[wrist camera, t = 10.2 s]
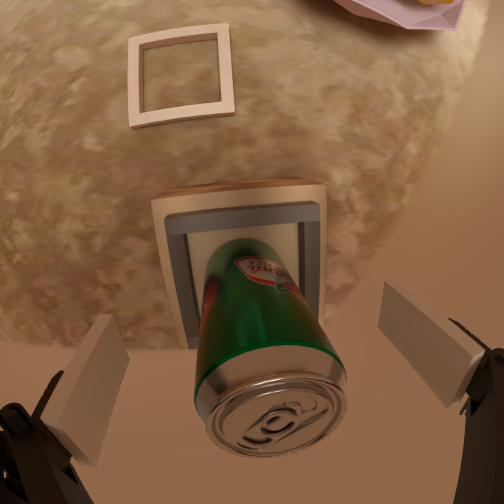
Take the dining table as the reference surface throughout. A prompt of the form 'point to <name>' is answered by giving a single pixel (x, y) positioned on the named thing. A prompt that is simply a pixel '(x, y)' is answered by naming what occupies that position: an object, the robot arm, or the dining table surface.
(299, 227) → the stand
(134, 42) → the low socket
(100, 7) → the dining table surface
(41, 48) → the dining table surface
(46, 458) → the robot arm
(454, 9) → the fruit bowl
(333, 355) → the soda can
